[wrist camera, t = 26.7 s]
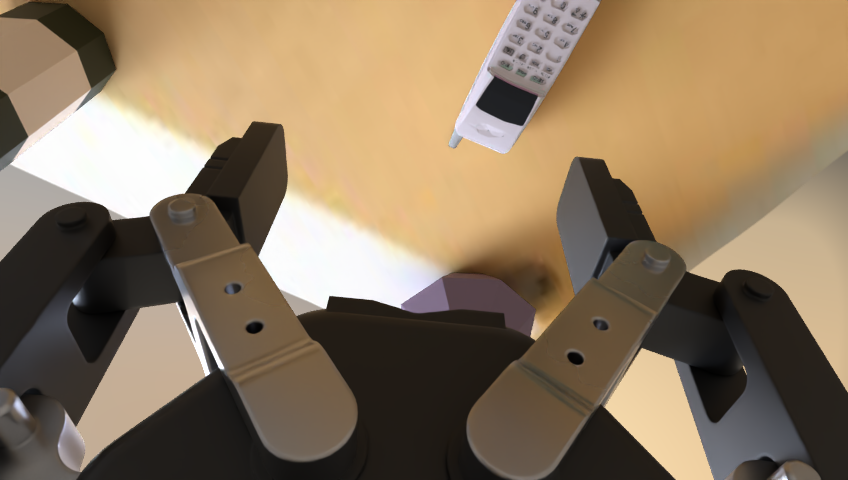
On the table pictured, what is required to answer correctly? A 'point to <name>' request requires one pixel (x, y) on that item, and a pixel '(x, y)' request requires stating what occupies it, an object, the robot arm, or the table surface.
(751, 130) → the table surface
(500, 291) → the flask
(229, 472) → the robot arm
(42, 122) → the wine bottle
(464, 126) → the mobile phone
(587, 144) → the table surface
